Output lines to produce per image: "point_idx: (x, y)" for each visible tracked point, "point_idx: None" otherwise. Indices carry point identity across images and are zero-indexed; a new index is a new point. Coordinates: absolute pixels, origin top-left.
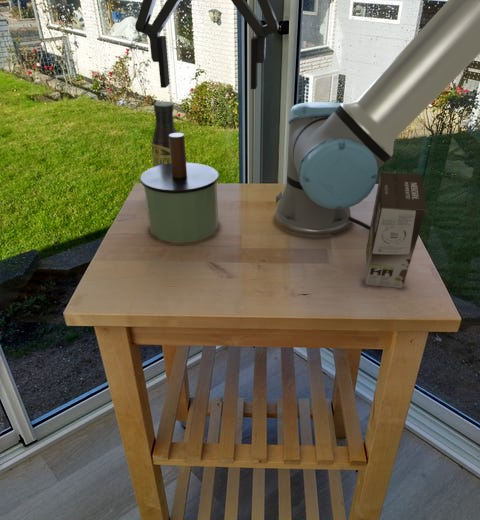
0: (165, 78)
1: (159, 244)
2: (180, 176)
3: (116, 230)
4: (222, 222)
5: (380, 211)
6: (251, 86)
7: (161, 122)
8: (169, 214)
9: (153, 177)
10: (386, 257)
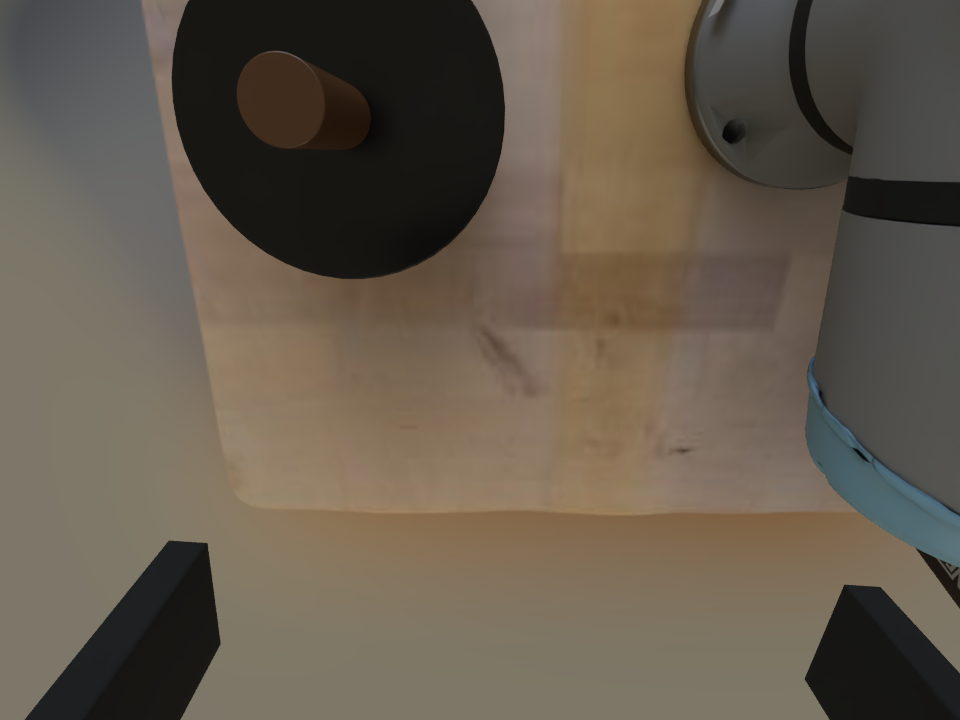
0: (189, 682)
1: None
2: (348, 148)
3: (173, 141)
4: (502, 72)
5: (958, 594)
6: (818, 695)
7: None
8: None
9: (236, 142)
10: None
